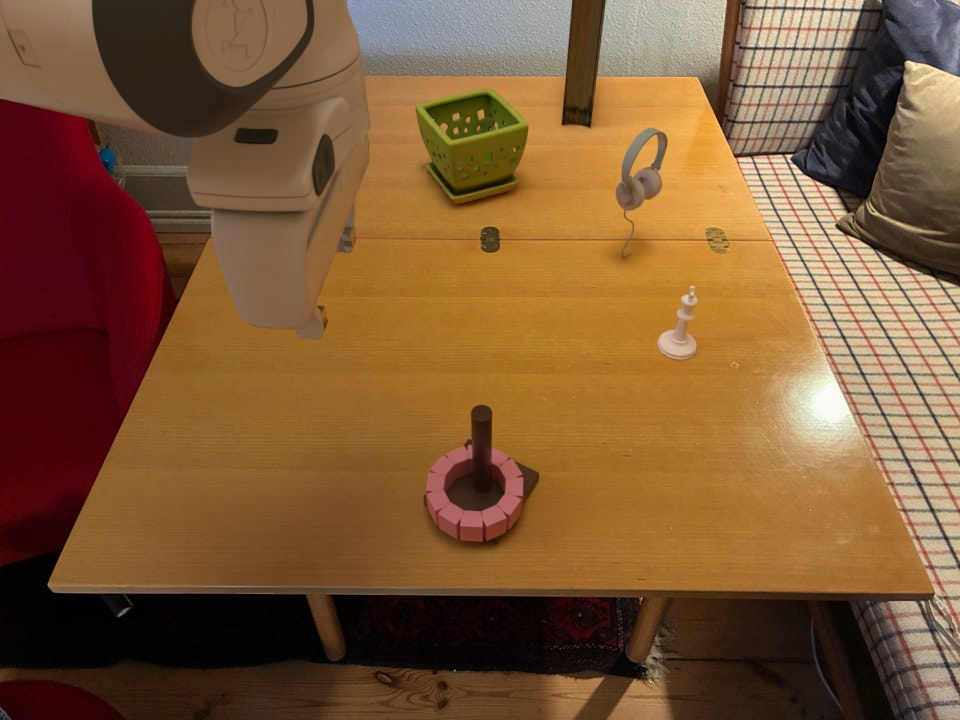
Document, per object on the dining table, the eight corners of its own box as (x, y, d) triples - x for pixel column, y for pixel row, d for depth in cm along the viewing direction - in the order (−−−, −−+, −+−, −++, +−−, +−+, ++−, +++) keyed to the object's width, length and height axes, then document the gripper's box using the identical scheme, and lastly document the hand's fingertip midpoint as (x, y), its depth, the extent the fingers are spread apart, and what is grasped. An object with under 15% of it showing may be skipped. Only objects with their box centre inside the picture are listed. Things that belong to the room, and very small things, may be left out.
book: (567, 88, 141) (579, -49, 123) (594, 90, 140) (610, -48, 122) (561, 127, 130) (573, -17, 112) (590, 129, 129) (607, -16, 111)
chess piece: (695, 335, 91) (713, 276, 84) (696, 362, 88) (715, 302, 81) (657, 331, 92) (671, 271, 84) (657, 357, 88) (672, 298, 81)
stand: (496, 544, 70) (498, 467, 61) (423, 504, 74) (414, 425, 64) (538, 480, 76) (546, 400, 66) (468, 446, 79) (466, 364, 69)
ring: (521, 544, 69) (522, 529, 67) (422, 538, 69) (420, 523, 67) (523, 462, 75) (524, 447, 73) (433, 458, 76) (432, 442, 74)
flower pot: (418, 173, 119) (412, 102, 110) (491, 155, 123) (491, 85, 114) (450, 216, 110) (447, 142, 101) (528, 195, 114) (532, 122, 105)
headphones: (619, 275, 100) (642, 149, 85) (597, 263, 102) (616, 137, 87) (654, 250, 104) (681, 126, 89) (632, 239, 106) (656, 115, 91)
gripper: (287, 32, 48) (321, 204, 58) (171, 198, 34) (243, 387, 44) (377, 34, 47) (396, 207, 57) (298, 203, 33) (342, 393, 43)
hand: (329, 286), depth 50 cm, fingers open, 8 cm apart
